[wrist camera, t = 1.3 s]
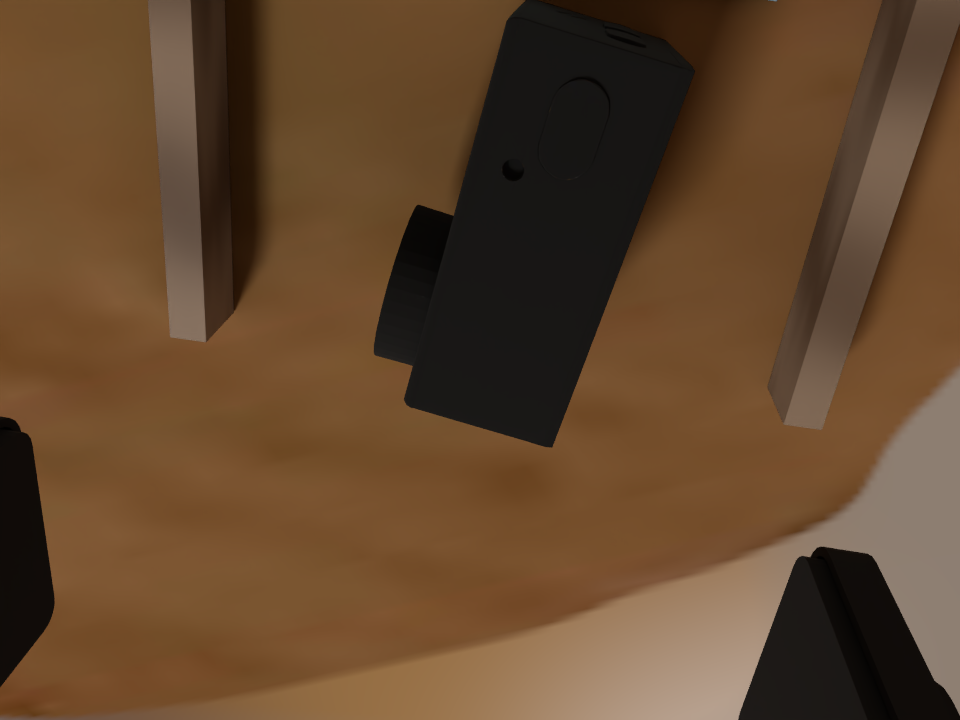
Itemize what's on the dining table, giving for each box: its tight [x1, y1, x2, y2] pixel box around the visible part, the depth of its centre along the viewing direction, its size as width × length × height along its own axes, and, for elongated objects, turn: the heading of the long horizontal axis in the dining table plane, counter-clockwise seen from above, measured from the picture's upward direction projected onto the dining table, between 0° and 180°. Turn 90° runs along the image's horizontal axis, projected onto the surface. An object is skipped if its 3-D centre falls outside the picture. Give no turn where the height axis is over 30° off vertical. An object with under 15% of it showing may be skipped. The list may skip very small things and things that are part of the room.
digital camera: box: [374, 0, 695, 447], centre depth 24 cm, size 10×5×7 cm, turn 165°
